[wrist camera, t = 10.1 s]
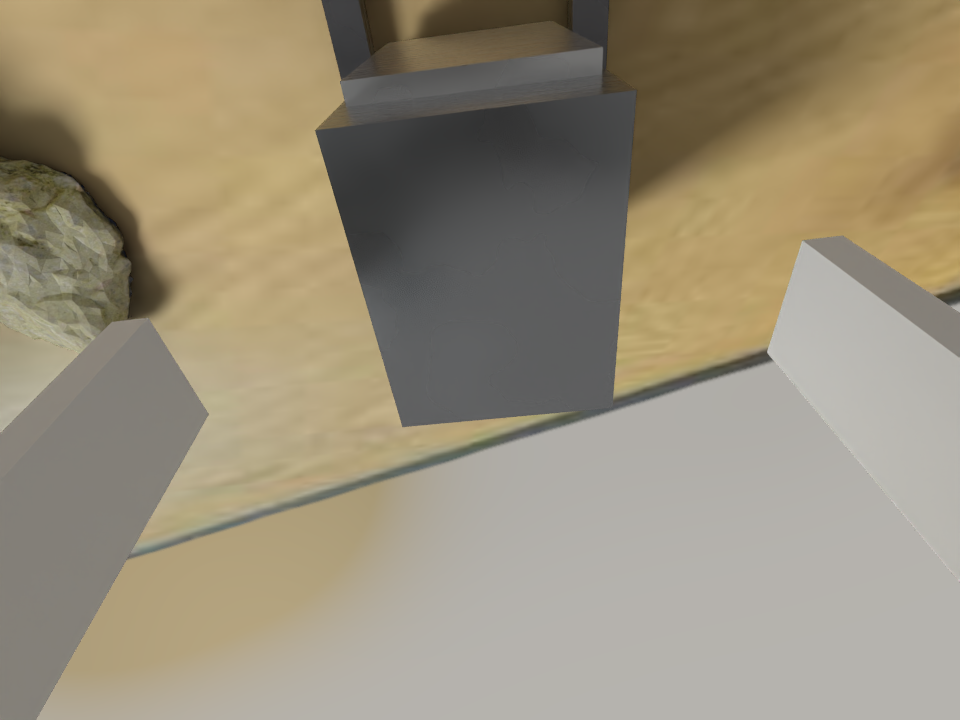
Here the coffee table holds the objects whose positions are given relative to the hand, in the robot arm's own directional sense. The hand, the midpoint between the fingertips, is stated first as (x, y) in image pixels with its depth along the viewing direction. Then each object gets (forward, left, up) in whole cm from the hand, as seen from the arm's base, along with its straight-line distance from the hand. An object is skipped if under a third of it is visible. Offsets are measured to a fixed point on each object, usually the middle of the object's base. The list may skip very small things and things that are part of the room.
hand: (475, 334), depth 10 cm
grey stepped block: (0, 0, -12) cm, 12 cm away
